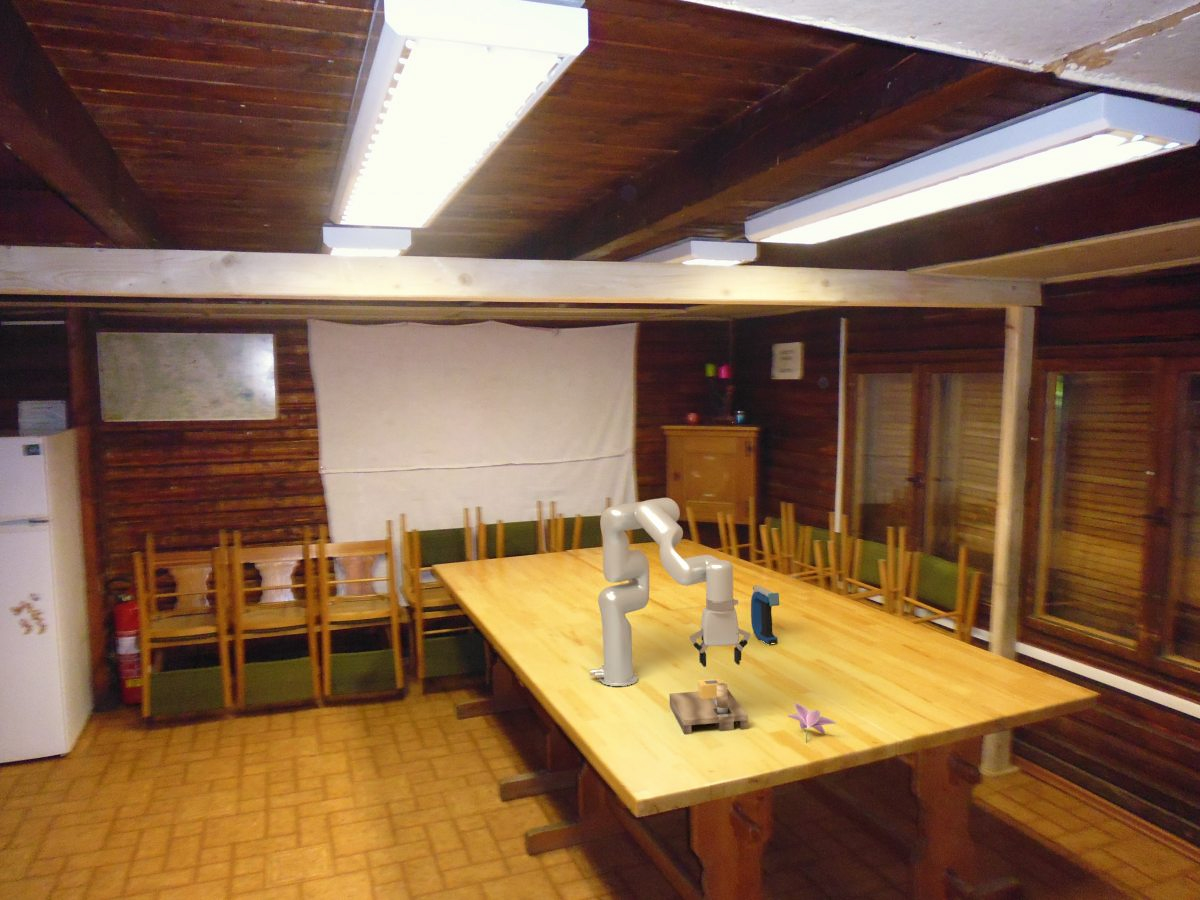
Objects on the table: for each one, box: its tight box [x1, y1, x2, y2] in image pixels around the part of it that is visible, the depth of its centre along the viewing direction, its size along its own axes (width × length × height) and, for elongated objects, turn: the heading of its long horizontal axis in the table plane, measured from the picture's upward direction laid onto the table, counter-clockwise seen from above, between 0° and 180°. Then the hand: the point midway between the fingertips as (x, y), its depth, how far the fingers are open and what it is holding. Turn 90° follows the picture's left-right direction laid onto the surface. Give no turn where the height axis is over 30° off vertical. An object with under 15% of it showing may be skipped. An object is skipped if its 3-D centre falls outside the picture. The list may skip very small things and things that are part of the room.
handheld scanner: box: [750, 585, 780, 645], centre depth 304 cm, size 5×16×20 cm, turn 15°
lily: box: [786, 702, 837, 744], centre depth 220 cm, size 12×12×10 cm
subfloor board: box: [669, 688, 749, 735], centre depth 235 cm, size 18×20×4 cm
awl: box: [717, 682, 729, 715], centre depth 229 cm, size 3×3×9 cm
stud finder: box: [697, 678, 725, 699], centre depth 241 cm, size 7×4×4 cm, turn 97°
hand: (720, 664), depth 229 cm, fingers open, 9 cm apart
